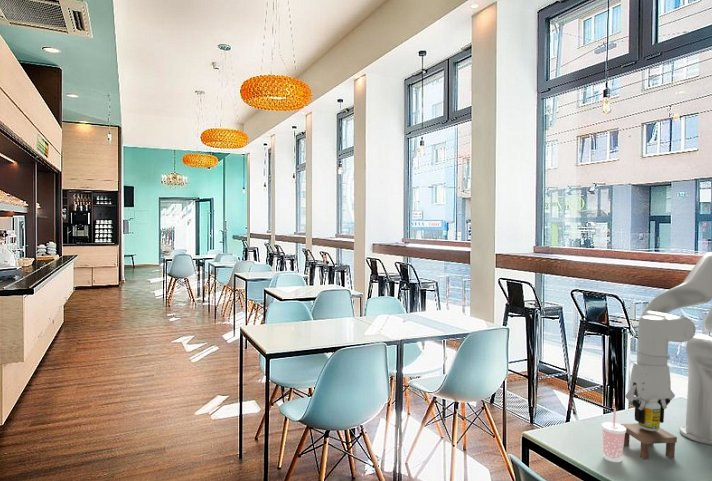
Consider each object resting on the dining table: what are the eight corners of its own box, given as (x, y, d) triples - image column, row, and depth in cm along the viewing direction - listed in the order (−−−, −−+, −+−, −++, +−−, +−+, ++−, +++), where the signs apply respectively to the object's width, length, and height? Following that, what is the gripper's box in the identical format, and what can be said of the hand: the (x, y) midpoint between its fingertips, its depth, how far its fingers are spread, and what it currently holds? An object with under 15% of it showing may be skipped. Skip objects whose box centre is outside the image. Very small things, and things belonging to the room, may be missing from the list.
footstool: (650, 442, 152) (651, 422, 152) (675, 458, 143) (676, 437, 142) (619, 443, 151) (620, 424, 151) (643, 459, 141) (644, 438, 141)
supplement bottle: (644, 422, 150) (645, 390, 150) (663, 429, 146) (665, 396, 145) (634, 426, 147) (636, 393, 147) (653, 433, 143) (655, 399, 142)
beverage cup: (605, 451, 146) (608, 403, 145) (628, 459, 141) (630, 409, 141) (596, 457, 142) (598, 408, 141) (619, 465, 137) (622, 414, 137)
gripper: (668, 355, 150) (665, 415, 151) (616, 356, 148) (613, 417, 149) (689, 362, 143) (685, 425, 144) (633, 363, 140) (630, 428, 141)
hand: (648, 420), depth 146 cm, fingers closed on supplement bottle, 5 cm apart
